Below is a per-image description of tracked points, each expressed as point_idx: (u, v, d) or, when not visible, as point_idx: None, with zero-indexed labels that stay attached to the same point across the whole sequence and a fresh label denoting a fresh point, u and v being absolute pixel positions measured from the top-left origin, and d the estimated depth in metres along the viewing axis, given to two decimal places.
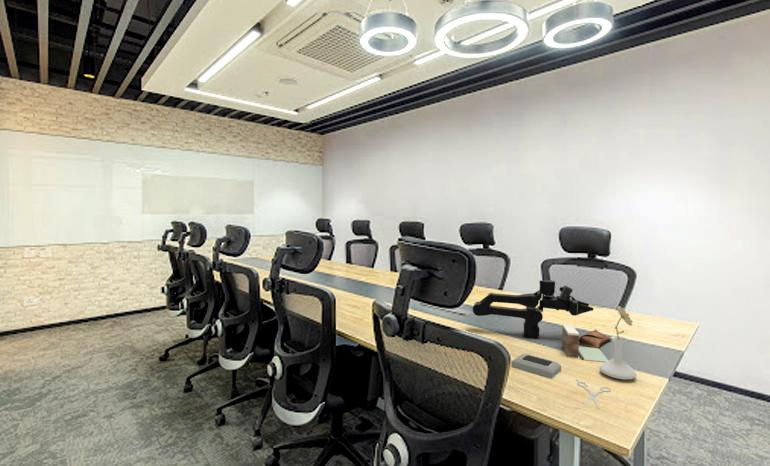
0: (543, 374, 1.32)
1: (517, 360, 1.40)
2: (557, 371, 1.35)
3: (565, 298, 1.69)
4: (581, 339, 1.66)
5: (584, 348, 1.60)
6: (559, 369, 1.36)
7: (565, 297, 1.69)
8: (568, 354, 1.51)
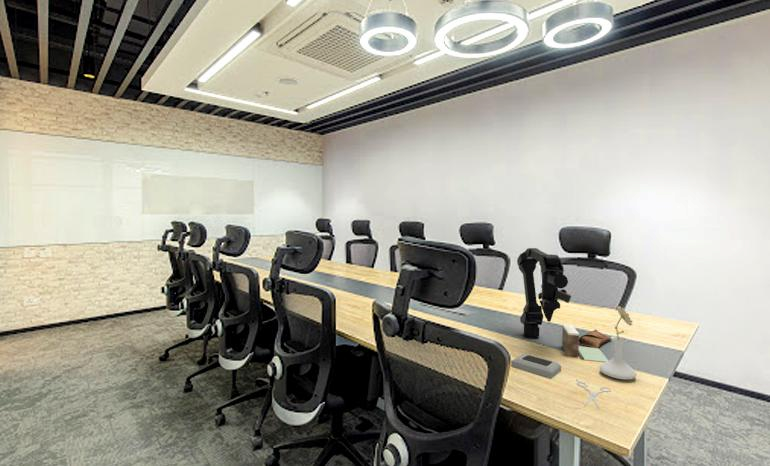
0: (542, 374, 1.32)
1: (517, 360, 1.40)
2: (557, 372, 1.34)
3: (557, 295, 1.55)
4: (581, 339, 1.66)
5: (584, 348, 1.60)
6: (559, 369, 1.36)
7: (559, 295, 1.55)
8: (568, 354, 1.51)
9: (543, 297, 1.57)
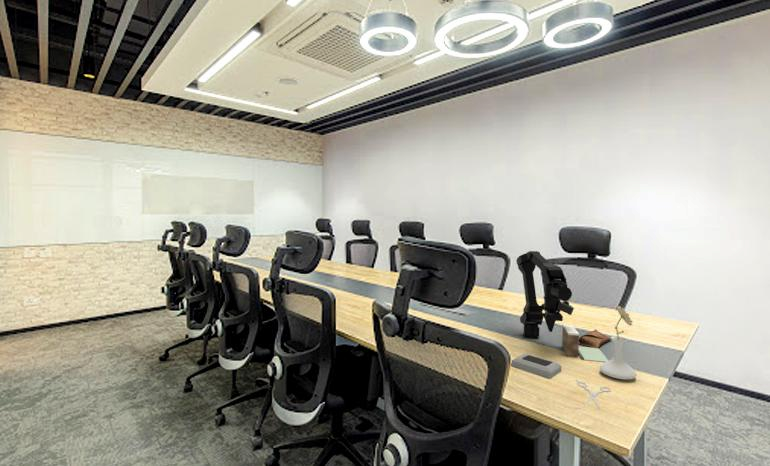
0: (542, 374, 1.32)
1: (517, 359, 1.40)
2: (557, 372, 1.34)
3: (560, 307, 1.54)
4: (581, 339, 1.66)
5: (584, 348, 1.60)
6: (559, 370, 1.36)
7: (561, 307, 1.54)
8: (568, 354, 1.51)
9: (545, 309, 1.57)
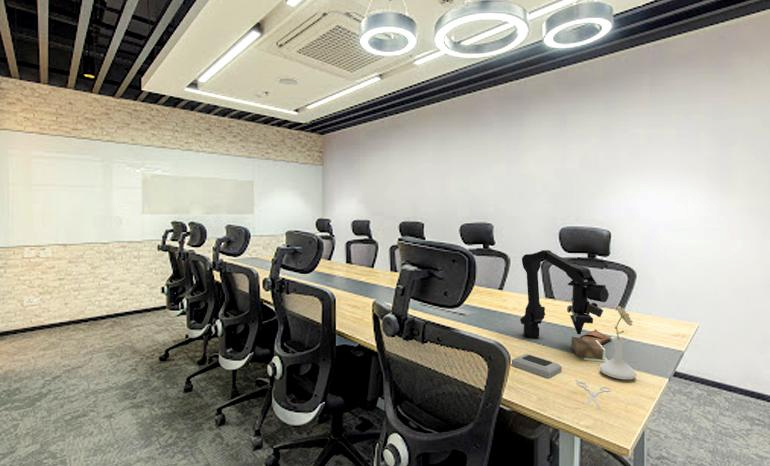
0: (540, 374, 1.33)
1: (516, 359, 1.40)
2: (556, 372, 1.34)
3: (589, 309, 1.51)
4: None
5: None
6: (559, 370, 1.35)
7: (590, 309, 1.51)
8: (580, 347, 1.50)
9: (574, 311, 1.53)
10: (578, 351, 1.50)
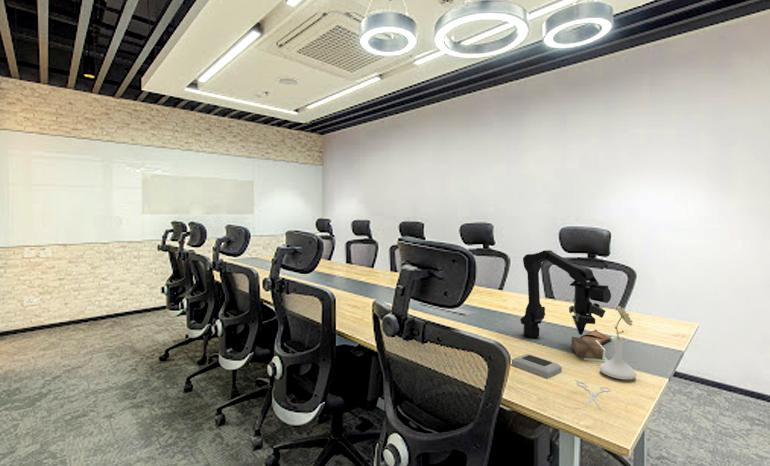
0: (540, 374, 1.33)
1: (516, 359, 1.41)
2: (556, 372, 1.34)
3: (591, 310, 1.51)
4: None
5: None
6: (559, 370, 1.35)
7: (592, 310, 1.51)
8: (580, 347, 1.50)
9: (576, 311, 1.53)
10: (578, 351, 1.50)
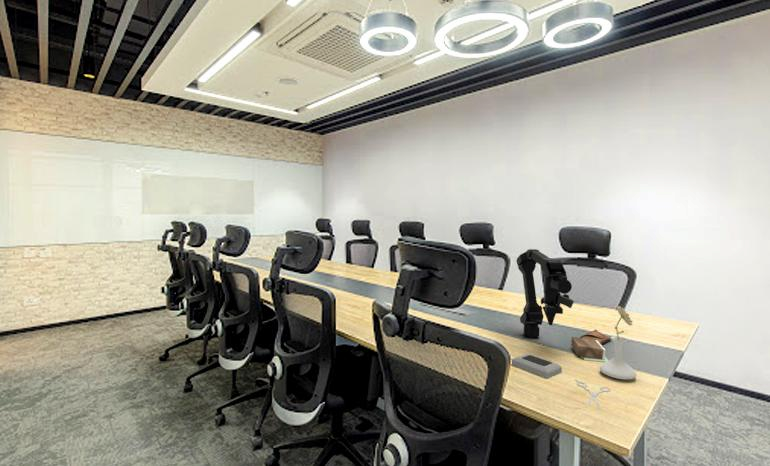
0: (539, 374, 1.33)
1: (516, 359, 1.41)
2: (556, 373, 1.34)
3: (560, 300, 1.54)
4: None
5: None
6: (559, 371, 1.35)
7: (561, 300, 1.54)
8: (580, 347, 1.50)
9: (546, 302, 1.56)
10: (578, 351, 1.50)
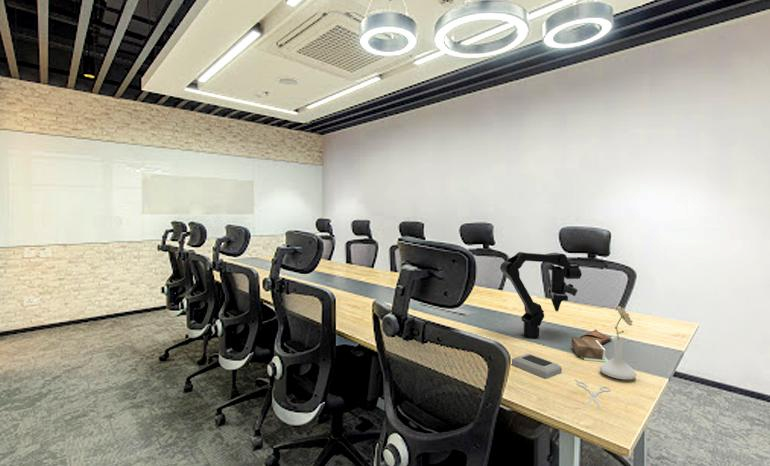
0: (538, 374, 1.33)
1: (516, 358, 1.41)
2: (555, 373, 1.33)
3: (565, 289, 1.74)
4: None
5: None
6: (558, 371, 1.34)
7: (566, 289, 1.74)
8: (580, 347, 1.50)
9: (552, 291, 1.76)
10: (578, 351, 1.50)
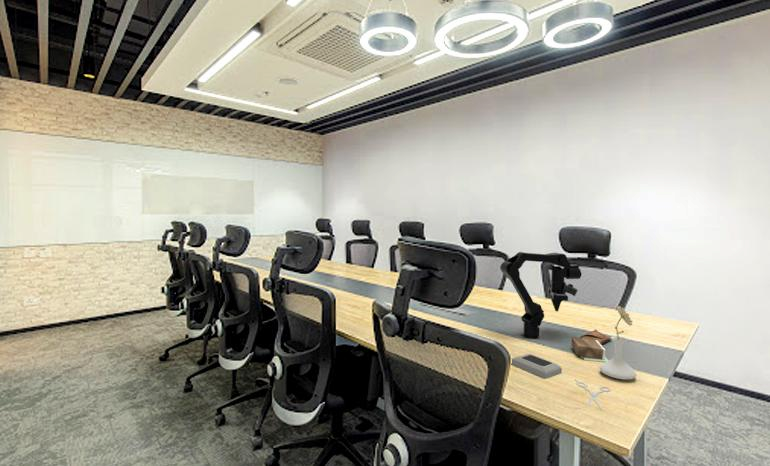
0: (538, 374, 1.33)
1: (516, 358, 1.41)
2: (555, 373, 1.33)
3: (565, 289, 1.74)
4: None
5: None
6: (558, 371, 1.34)
7: (566, 289, 1.74)
8: (580, 347, 1.50)
9: (552, 291, 1.76)
10: (578, 351, 1.50)
